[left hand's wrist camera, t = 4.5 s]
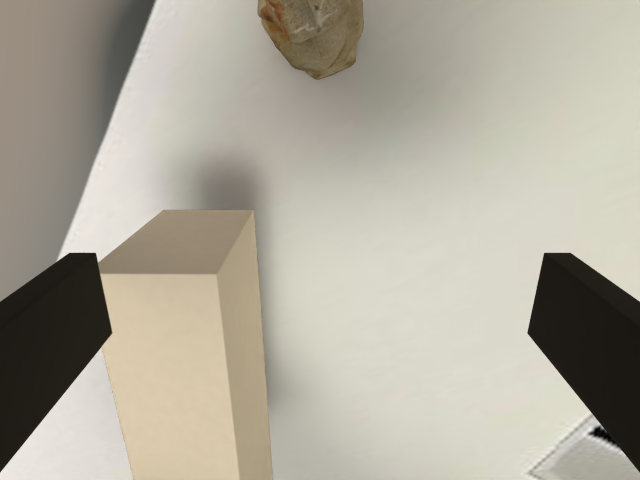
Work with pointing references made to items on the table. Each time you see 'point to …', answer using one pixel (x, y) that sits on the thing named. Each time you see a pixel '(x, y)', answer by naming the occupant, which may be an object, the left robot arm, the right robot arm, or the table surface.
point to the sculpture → (314, 32)
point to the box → (189, 347)
